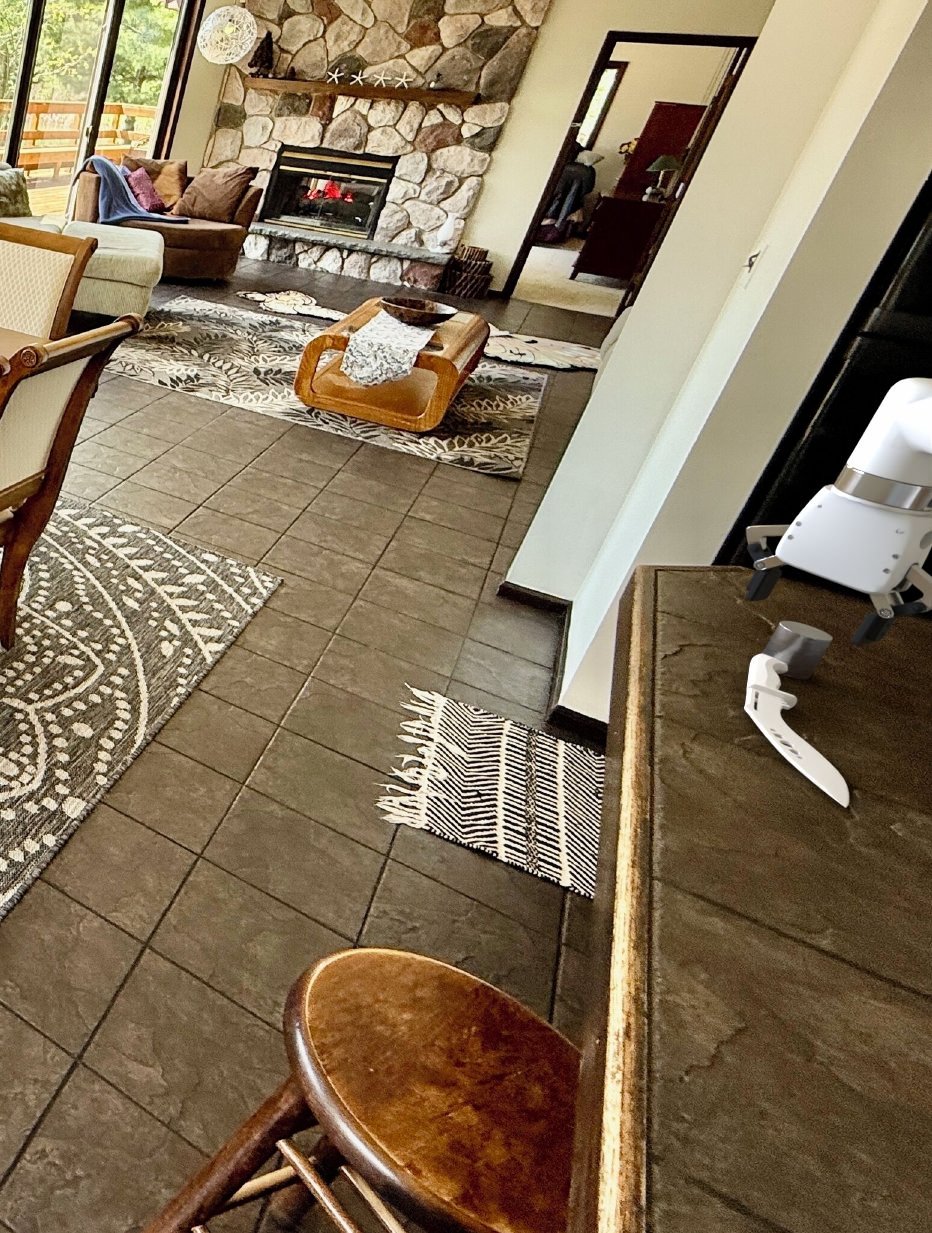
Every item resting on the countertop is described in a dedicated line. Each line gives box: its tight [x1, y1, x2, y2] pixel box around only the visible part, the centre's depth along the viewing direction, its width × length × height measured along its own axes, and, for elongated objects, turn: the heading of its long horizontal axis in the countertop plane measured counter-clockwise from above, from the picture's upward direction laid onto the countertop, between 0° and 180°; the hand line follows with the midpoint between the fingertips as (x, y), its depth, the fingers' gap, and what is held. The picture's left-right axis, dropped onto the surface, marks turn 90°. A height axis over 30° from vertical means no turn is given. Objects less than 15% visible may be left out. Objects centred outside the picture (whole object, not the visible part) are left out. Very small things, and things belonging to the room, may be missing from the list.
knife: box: [744, 653, 850, 809], centre depth 97 cm, size 30×2×8 cm
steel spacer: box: [761, 620, 833, 680], centre depth 108 cm, size 4×4×6 cm
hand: (806, 620), depth 107 cm, fingers open, 9 cm apart
